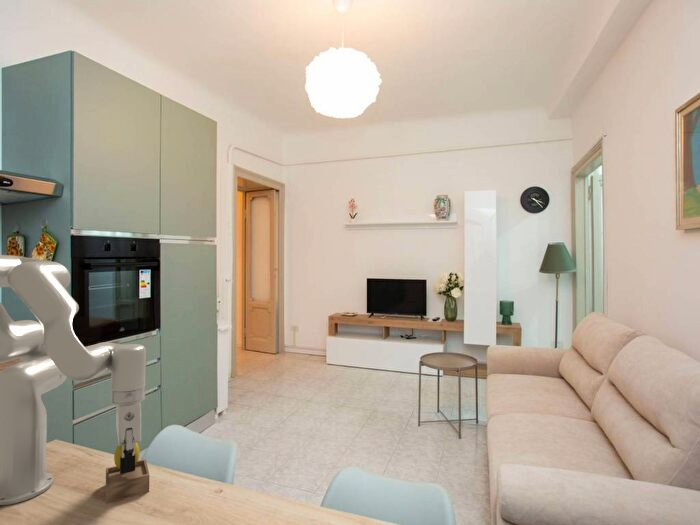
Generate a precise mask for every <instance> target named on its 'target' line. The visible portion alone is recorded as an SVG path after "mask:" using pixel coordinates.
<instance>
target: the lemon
mask: <svg viewBox="0 0 700 525" xmlns="http://www.w3.org/2000/svg"><path fill="white" fill-rule="evenodd" d="M132 442H133V440H132ZM124 444H126V441H124ZM125 449H126V446H125V447H124V451H125ZM140 453H141V452H140V447H139V443H138V442H136V441H135V464H136V463H137V461H139V460H140ZM113 456H114V457H113V458H114V466H117V467H118V468H119V469H120V457H122V446H120V445H119V444H117V447H116V448H115V451H114V455H113Z"/></svg>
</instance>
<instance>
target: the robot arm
mask: <svg viewBox="0 0 700 525" xmlns="http://www.w3.org/2000/svg"><path fill="white" fill-rule="evenodd" d="M70 283H71V274H70V271H69V270H68V269H67V268H66V266H65V265H63V264H62V263H59V262H57V261H50V260H44V259H36V258H32V257H26V256H21V255H20V256H19V255H13V254H11V255H10V254H0V288H11V289H12V291H13V292H14V293H15V294H16V295H17V297H18V298H19V299H20V300H21V301H22V302H23V304H24V305H25V306H26V307H27V309H29V311H30V312H31V314H33V316H34V317H35V318H36V319H37V320H36V321H35V320H33V319H32V320H30V319H24V320H22V319H21V320H16V321H15V320H13V319H12V318H11V316H10V314H8V312H7V309H6V308H5V307H4V305H3V304H2V302H0V364H4V363H7V362H11V361H14V360H17V359H20V361H21V362H17V363H15V364H11V365H10V366H8V367H6V368H4V369H2V370H1V371H0V506H6V505H13V504H17V503H22V502H25V501H27V500H30V499H33V498H35V497H37V496H40V495H41V494H42V493H44V492H46V491H47V490H49V488H50V487H51V486H52V485H53V483H54V474H52V473H50V472H47V436H48V434H47V431H48V428H47V427H48V426H47V425H48V423H47V422H48V420H47V419H48V414H47V408H46V407H45V405H44V403H43V400H42V395H44V394H45V393H47V392H49V391H52V390H54V389H56V388H58V387H59V386H61V385H63V384H64V383H65V381H66V380H67V379H69V380H71V381H73V382H76V383H77V382H78V383H79V382H80V383H83V382H88V381H91V380H93V379H94V378H97V377H99V376H100V375H103V374H106V373H108V372H111V373H110V374H111V376H110V379H111V381H110V404H111V405H113V406H116V408H115V412H116V413H115V421H116V423H115V424H116V425H115V426H116V435H117V442H118V445H120V446H122V457H120V474H124V473H128V472H132V471H135V442H137V444H139V443H141V442H142V403H141V402H143V401H144V400H145V399H146V372H147V371H146V370H147V369H146V368H147V366H146V365H147V364H146V363H147V362H146V361H147V349H146V347H145V346H144V345H142V344H139V343H129V344H121V343H115V342H108V341H107V342H106V341H105V342H98V343H96V344H93V345H89V346H87V347H85V346H84V344H83V343H82V342H81V341H80V340H79V338H78V336H77V335H76V334H75V330H74V329H73V319H74V317H75V315H76V314H77V313H78V312H79V310H80V307H79V306H80V305H79V304H78V302H77V301H76V300H75V299H74V298H73V297H72V295H71V294H70V293H69V292H68V291H67V288H68V287H69V285H70ZM38 321H39V322H38ZM132 440H133V442H132ZM124 441H126V444H124ZM125 446H126V449H125V451H124V447H125Z"/></svg>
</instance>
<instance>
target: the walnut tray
mask: <svg viewBox="0 0 700 525" xmlns="http://www.w3.org/2000/svg"><path fill="white" fill-rule="evenodd" d="M148 492H150V472H149V467H148V464H147V459H146V458H143V459H138V461H137V463H136V464H135V471H132V472H128V473H124V474H120V469H119V468H118V467H117V466H116V465H114V466H110V467H106V468H105V498H106V499H105V500H106V501H105V503H106V504H109V503H112V502H116V501H120V500H122V499H126V498H130V497H133V496H138V495H141V494H144V493H148Z"/></svg>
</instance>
